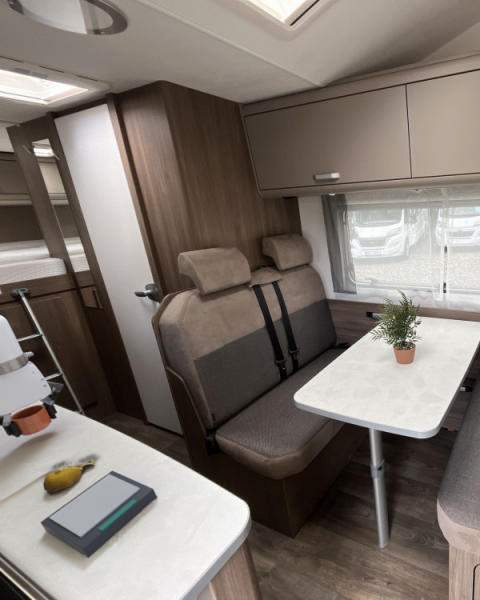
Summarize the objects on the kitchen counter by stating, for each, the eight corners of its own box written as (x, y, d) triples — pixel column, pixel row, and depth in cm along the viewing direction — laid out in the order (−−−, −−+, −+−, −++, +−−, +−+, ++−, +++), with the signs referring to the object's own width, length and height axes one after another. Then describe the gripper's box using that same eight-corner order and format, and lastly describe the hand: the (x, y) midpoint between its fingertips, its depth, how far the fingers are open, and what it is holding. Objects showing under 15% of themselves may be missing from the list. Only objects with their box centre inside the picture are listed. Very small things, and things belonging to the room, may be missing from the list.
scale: (46, 530, 60) (38, 520, 59) (116, 478, 71) (111, 469, 70) (88, 557, 56) (81, 547, 55) (157, 497, 66) (152, 487, 65)
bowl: (13, 433, 79) (4, 417, 78) (45, 417, 85) (37, 402, 83) (25, 439, 77) (16, 423, 76) (57, 423, 83) (49, 407, 81)
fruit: (99, 458, 76) (93, 447, 75) (81, 487, 69) (74, 475, 68) (55, 470, 74) (48, 459, 72) (32, 502, 66) (24, 489, 65)
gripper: (43, 347, 84) (69, 402, 90) (-64, 383, 68) (-24, 447, 74) (59, 351, 81) (84, 408, 87) (-49, 389, 66) (-8, 455, 72)
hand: (34, 425), depth 81 cm, fingers closed on bowl, 6 cm apart
